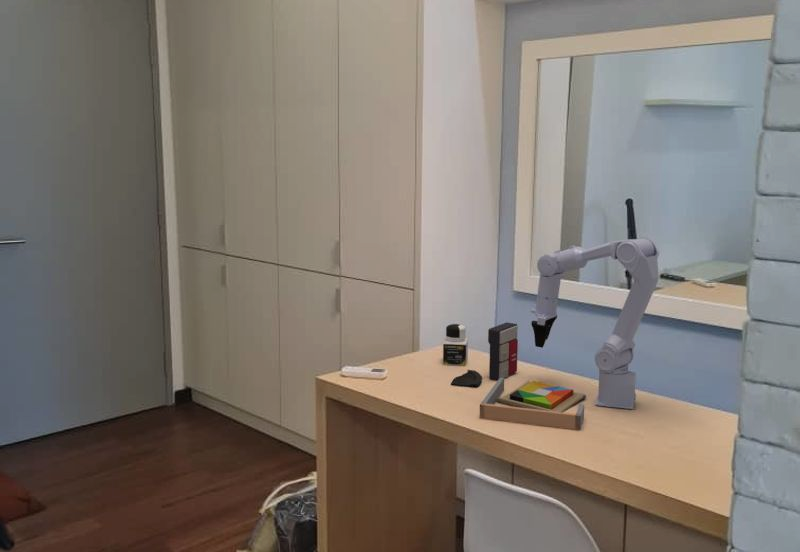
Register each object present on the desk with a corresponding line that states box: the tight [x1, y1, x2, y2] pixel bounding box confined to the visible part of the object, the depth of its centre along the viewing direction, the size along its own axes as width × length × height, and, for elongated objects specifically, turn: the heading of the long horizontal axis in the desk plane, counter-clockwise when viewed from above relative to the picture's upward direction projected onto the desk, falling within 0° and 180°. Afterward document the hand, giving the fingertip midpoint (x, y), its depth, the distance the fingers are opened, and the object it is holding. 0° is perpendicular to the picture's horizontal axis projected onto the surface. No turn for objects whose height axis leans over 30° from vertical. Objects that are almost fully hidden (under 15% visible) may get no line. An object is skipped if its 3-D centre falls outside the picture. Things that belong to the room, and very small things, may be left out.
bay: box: [479, 378, 585, 431], centre depth 192 cm, size 24×24×4 cm
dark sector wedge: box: [450, 369, 483, 389], centre depth 216 cm, size 8×14×2 cm, turn 160°
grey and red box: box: [487, 322, 519, 382], centre depth 218 cm, size 11×4×15 cm, turn 143°
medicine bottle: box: [442, 323, 469, 367], centre depth 233 cm, size 7×7×12 cm
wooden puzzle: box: [496, 380, 587, 413], centre depth 198 cm, size 18×19×4 cm
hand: (541, 342), depth 210 cm, fingers open, 7 cm apart
